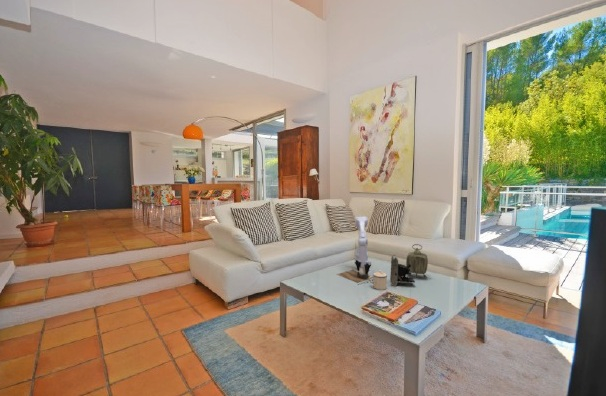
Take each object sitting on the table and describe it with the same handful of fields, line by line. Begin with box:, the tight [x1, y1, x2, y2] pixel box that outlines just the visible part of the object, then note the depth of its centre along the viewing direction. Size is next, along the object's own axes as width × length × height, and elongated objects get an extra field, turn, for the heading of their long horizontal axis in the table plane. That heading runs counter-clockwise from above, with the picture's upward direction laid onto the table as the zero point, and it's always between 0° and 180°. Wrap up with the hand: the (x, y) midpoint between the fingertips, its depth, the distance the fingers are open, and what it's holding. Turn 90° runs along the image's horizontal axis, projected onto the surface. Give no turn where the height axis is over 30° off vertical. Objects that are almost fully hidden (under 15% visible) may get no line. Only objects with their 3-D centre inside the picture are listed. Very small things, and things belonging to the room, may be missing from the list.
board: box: [336, 269, 373, 286], centre depth 207 cm, size 18×22×2 cm
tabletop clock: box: [405, 243, 429, 279], centre depth 207 cm, size 14×9×25 cm, turn 62°
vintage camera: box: [389, 254, 416, 287], centre depth 193 cm, size 10×15×20 cm, turn 78°
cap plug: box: [358, 267, 366, 275], centre depth 205 cm, size 5×5×7 cm
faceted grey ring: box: [357, 271, 369, 279], centre depth 205 cm, size 8×8×2 cm
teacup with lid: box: [368, 269, 388, 291], centre depth 189 cm, size 12×9×12 cm
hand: (362, 272), depth 205 cm, fingers open, 7 cm apart
